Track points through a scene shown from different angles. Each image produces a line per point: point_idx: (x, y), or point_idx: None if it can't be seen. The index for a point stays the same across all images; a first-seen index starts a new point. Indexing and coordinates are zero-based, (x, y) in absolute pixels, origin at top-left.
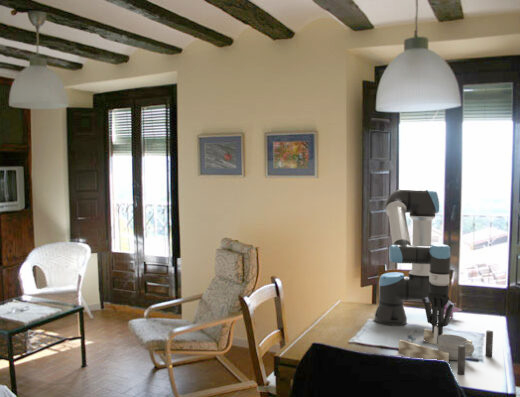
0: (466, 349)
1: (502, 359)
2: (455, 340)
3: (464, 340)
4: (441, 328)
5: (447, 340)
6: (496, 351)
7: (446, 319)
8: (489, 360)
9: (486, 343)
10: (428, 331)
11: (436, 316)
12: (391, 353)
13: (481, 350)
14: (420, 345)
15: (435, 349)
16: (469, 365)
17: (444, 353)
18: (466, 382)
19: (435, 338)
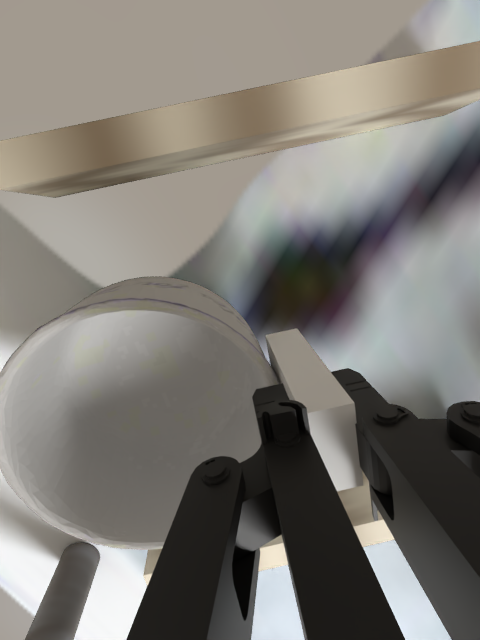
0: (56, 440)
1: (13, 580)
2: None
3: (106, 519)
4: (261, 443)
5: (248, 449)
6: (117, 637)
7: (148, 599)
8: (30, 513)
9: (52, 630)
10: None
11: (441, 585)
12: (469, 10)
13: None
14: (298, 117)
15: (138, 157)
16: (13, 347)
17: (9, 140)
18: None
19: (288, 345)
